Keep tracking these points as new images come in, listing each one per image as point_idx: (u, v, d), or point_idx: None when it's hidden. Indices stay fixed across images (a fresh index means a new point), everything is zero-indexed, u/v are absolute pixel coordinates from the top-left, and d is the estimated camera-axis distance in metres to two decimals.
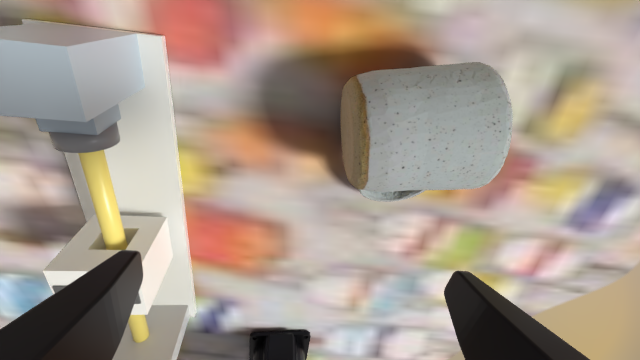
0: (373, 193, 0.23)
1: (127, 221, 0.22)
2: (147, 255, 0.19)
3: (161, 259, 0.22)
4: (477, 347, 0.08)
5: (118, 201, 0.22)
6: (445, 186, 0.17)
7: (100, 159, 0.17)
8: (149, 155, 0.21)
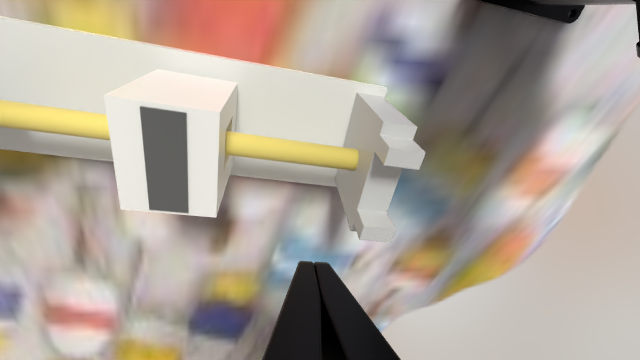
0: None
1: None
2: (128, 86, 0.12)
3: (193, 86, 0.14)
4: None
5: None
6: None
7: None
8: (60, 65, 0.15)
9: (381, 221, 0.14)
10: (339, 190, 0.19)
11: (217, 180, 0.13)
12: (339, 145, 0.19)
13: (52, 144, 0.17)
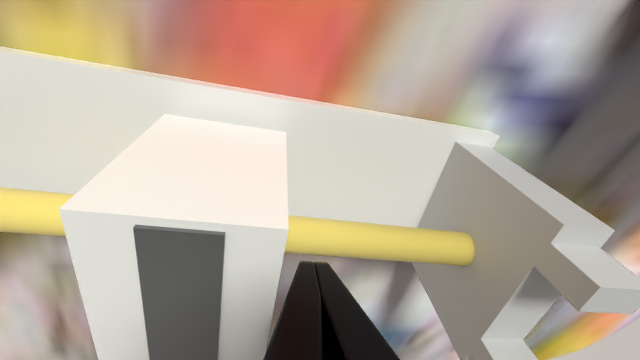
0: None
1: None
2: (114, 169, 0.07)
3: (225, 150, 0.08)
4: None
5: None
6: None
7: None
8: (14, 107, 0.10)
9: None
10: (420, 275, 0.13)
11: (269, 323, 0.07)
12: (419, 210, 0.14)
13: None
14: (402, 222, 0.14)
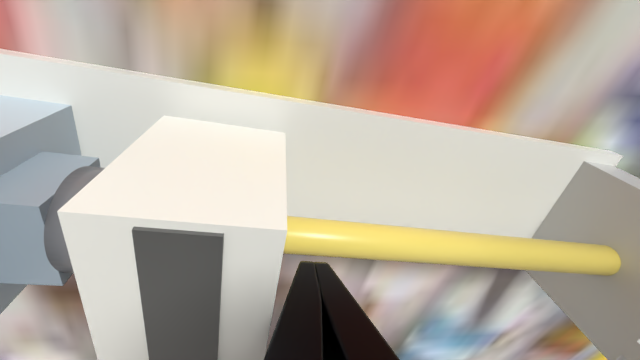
0: None
1: None
2: (113, 170, 0.07)
3: (224, 151, 0.08)
4: None
5: (311, 207, 0.13)
6: None
7: None
8: None
9: None
10: (540, 282, 0.15)
11: (269, 324, 0.07)
12: (537, 222, 0.15)
13: None
14: (519, 233, 0.15)
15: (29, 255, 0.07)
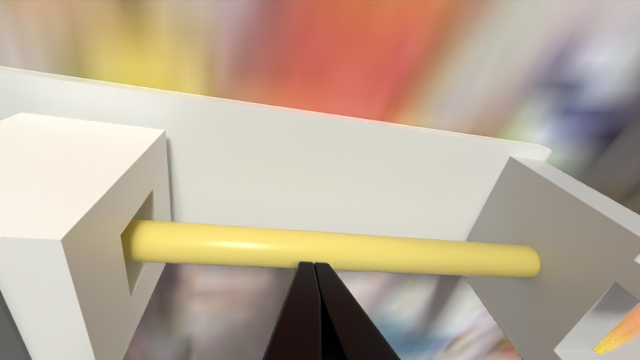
0: None
1: None
2: None
3: (63, 150, 0.08)
4: None
5: (217, 210, 0.12)
6: None
7: None
8: None
9: None
10: (474, 285, 0.14)
11: (93, 346, 0.07)
12: (470, 222, 0.14)
13: None
14: (453, 234, 0.14)
15: None
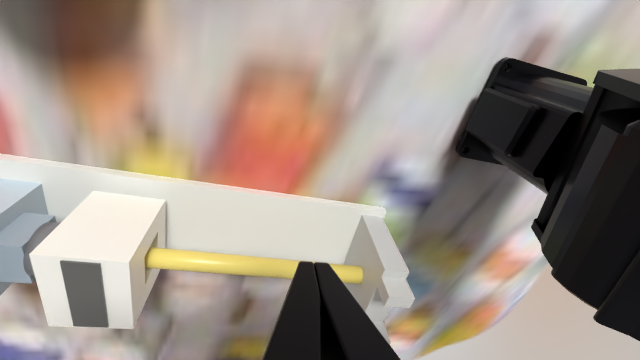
0: None
1: None
2: (56, 232, 0.15)
3: (119, 217, 0.17)
4: None
5: (192, 238, 0.21)
6: None
7: None
8: None
9: None
10: None
11: (132, 304, 0.16)
12: (345, 249, 0.23)
13: None
14: (336, 256, 0.24)
15: (15, 268, 0.15)
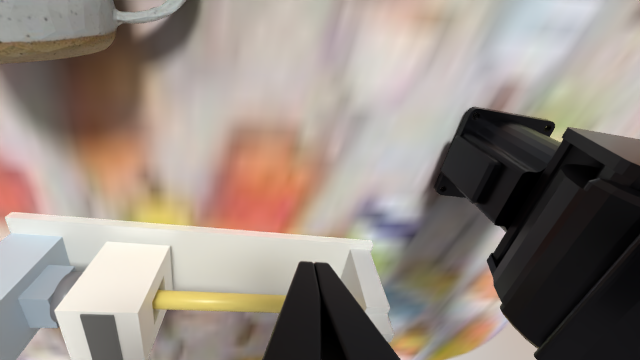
0: None
1: None
2: (76, 287, 0.17)
3: (129, 267, 0.19)
4: None
5: (196, 275, 0.23)
6: None
7: None
8: None
9: None
10: None
11: (142, 345, 0.18)
12: None
13: None
14: None
15: (43, 316, 0.18)
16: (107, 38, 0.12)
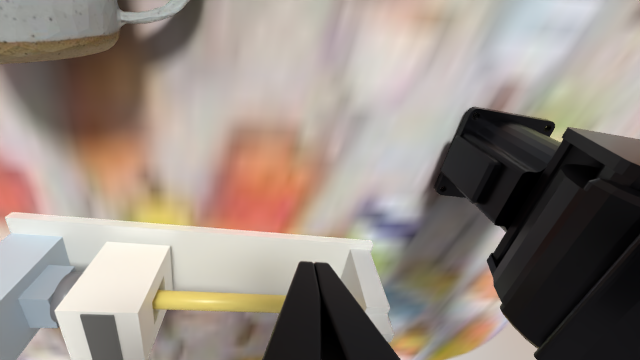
0: None
1: None
2: (76, 287, 0.17)
3: (129, 267, 0.19)
4: None
5: (196, 276, 0.23)
6: None
7: None
8: None
9: None
10: None
11: (143, 345, 0.18)
12: None
13: None
14: None
15: (43, 316, 0.18)
16: (111, 38, 0.12)
